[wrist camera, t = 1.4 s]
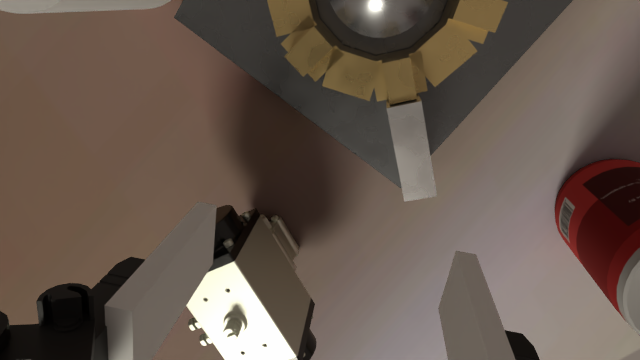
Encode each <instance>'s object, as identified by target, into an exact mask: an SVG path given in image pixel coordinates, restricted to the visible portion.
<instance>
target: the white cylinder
mask: <svg viewBox="0 0 640 360" xmlns="http://www.w3.org/2000/svg"><path fill="white" fill-rule="evenodd" d="M169 1H171V0H0V10H2V11H6V12H11V13H19V14H28V13H54V12H80V11H106V10H132V9H151V8H156V7H159V6H162V5H164V4H166V3H168V2H169Z"/></svg>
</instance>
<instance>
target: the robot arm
mask: <svg viewBox="0 0 640 360" xmlns="http://www.w3.org/2000/svg"><path fill="white" fill-rule="evenodd" d="M216 207H217V205H213V204H207V203H202V202H197V203H196V204H195V206H194V207H193V208H192V209H191V210H190V211H189V212H188V213H187V214H186V216H185V217H184V218H183V219H182V220H181V221H180V222H179V223H178V224H177V226H176V227H175V228H174V229H173V230H172V231H171V232H170V233H169V234H168V236H167V237H166V238H165V239H164V240H163V241H162V242H161V243H160V244H159V246H158V247H157V248H156V249H155V250H154V251H153V252H152V253H151V254H150V256H149V257H148V258H147V259H146V260H144V259H139V258H134V257H130V258H128V259H126V260H124V261H122V262H120V263H118V264H116V265H115V266H114V267H113V268H112V269H111V270H110V271H109V272H108V274H107V275H105V276H104V277H103V278H102V279H101V280H100V283H97V284H96V285H95V286H94V287H93V288H92V289H90V288H89V287H88V286H86V285H82V284H76V283H68V284H62V285H57V286H55V287H53V288H50V289H48V290H46V291H45V292H44V293H42V294H41V295H40V296H39V298H38V300H37V301H36V302H37V310H38V319H39V324H31V325H9V320H8V317H7V315H6V314H4V313H2V312H1V311H0V360H152V359H153V357H154V356H155V354H156V352H157V351H158V349H159V348H160V346H161V345H162V343H163V341H164V340H165V338H166V337H167V335H168V334H169V332H170V330H171V329H172V327H173V326H174V324H175V323H176V321H177V319H178V318H179V316H180V315H181V313H182V311H183V310H184V308H185V307H186V305H187V304H188V302H189V300H190V299H191V297H192V296H193V294H194V293H195V291H196V289H197V288H198V286H199V285H200V283H201V281H202V280H203V278H204V277H205V275H206V274H207V272H208V270H209V269H210V267H211V266H212V264H213V253H214V238H215V222H216ZM438 309H439V314H440V319H441V324H442V330H443V335H444V340H445V345H446V351H447V356H448V360H540V359H539V357H538V355H537V352H536V350H535V348H534V346H533V345H532V344H531V343H530V342H529V341H528V340H527V338H526V337H525V336H524V335H523V334H521V333H516V332H511V331H506V330H504V328H503V325H502V322H501V320H500V317H499V314H498V312H497V309H496V306H495V304H494V301H493V298H492V296H491V293H490V290H489V288H488V285H487V283H486V280H485V277H484V275H483V272H482V269H481V267H480V264H479V261H478V259H477V256H476V255H475V254H470V253H465V252H460V251H456V253H455V256H454V259H453V262H452V266H451V269H450V272H449V276H448V279H447V282H446V285H445V289H444V292H443V295H442V298H441V302H440V305H439V308H438Z"/></svg>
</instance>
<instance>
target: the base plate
mask: <svg viewBox="0 0 640 360" xmlns="http://www.w3.org/2000/svg"><path fill="white" fill-rule="evenodd" d="M315 1H316V6H317V10H318V14H319V19H320V20H321V21H322V22H323V23H324V24H325V25H326V26H327V28H328V29H329V30H330V31H331V32H332V33H333V34H334V35H335V37H336V38H337V39H338V40H339V41H340V42H341V43H342V44H343V45H344V46H347V47H350V48H354V49H357V50H360V51H363V52H366V53H369V54H372V55H375V56H378V55H382V54H386V53H391V52H395V51H399V50H404V49H408V48H411V47H413V46H414V45H415V44H416V43H417V42H418V41H419V40H420V39H421V38H423V37H424V36H425V35H426V34H427V33H428V32H429V31H430V30H431V29H433V28H434V27H435V26H436V25H437V24H438V23H439V22H440V20H441V17H442V15H443V12H444V9H445V7H446V4H447V1H448V0H315ZM503 1H506V2H508V4H507V6H506V8H505V11H504V13H503V16H502V18H501V20H500V23H499V25H498V27H497V30H496V32H495V33H494V32H490V31H488V33H487V36H486V38H485V41H484V43H483V44H481V43H478V42H475V41H472V40H469V39H468V40H469V41H470V42H471V44H472V45H473V46H474V47H475V48H476V50H477V52H476V53H475V54H474V55H473V56H471V57H470V58H469V59H468V60H467V61H465V62H464V63H463V64H462V65H461V66H460V67H458V68H457V69H456V70H455V71H454V72H452V73H451V74H450V75H449V76H448V77H447V78H445V79H444V80H443V81H442V82H441V83H439V84H438V85H437V86H436V87H434V86H433V84H432V83H431V82H430V81H429V80H428V79H427V78H426V76H425V78H426V84H427V91H425V92H420V93H418V94H419V96H420V99H421V101H422V108H423V114H424V120H425V126H426V132H427V138H428V144H429V150H430V156H431V155H432V154H433V152H434V151H435V150H436V149H437V148H438V147H439V146H440V145H441V144H442V143H443V142H444V140H445V139H446V138H447V137H448V136H449V135H450V134H451V133H452V132H453V131H454V130H455V128H456V127H457V126H458V125H459V124H460V123H461V122H462V121H463V120H464V119H465V117H466V116H467V115H468V114H469V113H470V112H471V111H472V110H473V109H474V108H475V107H476V105H477V104H478V103H479V102H480V101H481V100H482V99H483V98H484V97H485V96H486V95H487V93H488V92H489V91H490V90H491V89H492V88H493V87H494V86H495V85H496V84H497V82H498V81H499V80H500V79H501V78H502V77H503V76H504V75H505V74H506V73H507V72H508V70H509V69H510V68H511V67H512V66H513V65H514V64H515V63H516V62H517V61H518V60H519V58H520V57H521V56H522V55H523V54H524V53H525V52H526V51H527V50H528V49H529V48H530V46H531V45H532V44H533V43H534V42H535V41H536V40H537V39H538V38H539V37H540V35H541V34H542V33H543V32H544V31H545V30H546V29H547V28H548V27H549V26H550V25H551V23H552V22H553V21H554V20H555V19H556V18H557V17H558V16H559V15H560V14H561V13H562V11H563V10H564V9H565V8H566V7H567V6H568V5H569V4H570V3H571V2H572V0H503ZM174 18H175V19H177V20H178V21H179V22H181V23H182V24H183V25H185V26H186V27H187V28H189V29H190V30H191V31H193V32H194V33H195V34H197V35H198V36H199V37H201V38H202V39H203V40H205V41H206V42H207V43H209V44H210V45H211V46H213V47H214V48H215V49H216V50H218V51H219V52H220V53H222V54H223V55H224V56H226V57H227V58H228V59H230V60H231V61H232V62H234V63H235V64H236V65H238V66H239V67H240V68H242V69H243V70H244V71H246V72H247V73H248V74H250V75H251V76H252V77H254V78H255V79H256V80H258V81H259V82H260V83H262V84H263V85H264V86H266V87H267V88H268V89H270V90H271V91H272V92H274V93H275V94H276V95H278V96H279V97H280V98H282V99H283V100H284V101H286V102H287V103H288V104H289V105H291V106H292V107H293V108H295V109H296V110H297V111H299V112H300V113H301V114H303V115H304V116H305V117H307V118H308V119H309V120H311V121H312V122H313V123H315V124H316V125H317V126H319V127H320V128H321V129H323V130H324V131H325V132H327V133H328V134H329V135H331V136H332V137H333V138H335V139H336V140H337V141H339V142H340V143H341V144H343V145H344V146H345V147H347V148H348V149H349V150H351V151H352V152H353V153H355V154H356V155H357V156H359V157H360V158H361V159H363V160H364V161H365V162H366V163H368V164H369V165H370V166H372V167H373V168H374V169H376V170H377V171H378V172H380V173H381V174H382V175H384V176H385V177H386V178H388V179H389V180H390V181H392V182H393V183H394V184H396V185H397V186H398V187H400V188H401V187H402V186H401V181H400V176H399V171H398V165H397V160H396V155H395V150H394V145H393V139H392V134H391V129H390V124H389V118H388V113H387V107H386V100H382V101H378V102H377V99H376V94H375V89H373V92H372V95H371V98H370V101H367V100H364V99H361V98H358V97H355V96H352V95H348V94H345V93H342V92H339V91H336V90H333V89H330V88H326V87H323V86H322V84H323V81H324V77H325V74H326V72H325V73H324V74H323V75H322V76H321V77H320V78H319V79H318V80H317V81H316V82H315V81H314V80H313V79H312V78H311V76H310V75H309V74H308V73H307V74H306V75H305V76H304V77H303V76H302V75H301V74H300V73H299V72H298V71H297V70H296V69H295V68H294V67H293V65H292V64H291V63H290V62H289V61H288V60H287V59H286V58H285V57H284V56H285V55H286V54H287V53H288V52H287V50H286V49H285V48H284V47H283V46H282V45H281V43H282V42H283V41H284V40H285V39H286V38H287V37H288V36H289V35H290V34H291V33H290V34H286V35H282V36H278V37H277V36H276V33H275V29H274V25H273V21H272V17H271V13H270V10H269V6H268V2H267V0H183V2H182V4H181V6H180V7H179V9H178V11H177V13H176V15H175V17H174Z"/></svg>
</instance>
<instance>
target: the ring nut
mask: <svg viewBox="0 0 640 360" xmlns="http://www.w3.org/2000/svg"><path fill="white" fill-rule="evenodd" d="M267 2H268V6H269V10H270V13H271V17H272V21H273V25H274V29H275V33H276V36H277V37H278V36H282V35H286V34H290V33H291V34H290V35H289V36H288V37H287V38H286V39H285V40H284V41H283V42H282V43H281V45H282V46H283V47H284V48H285V49H286V50H287V52H288V53H287V54H286V55H285V56H284V57H285V58H286V59H287V60H288V61H289V62H290V63H291V64H292V65H293V67H294V68H295V69H296V70H297V71H298V72H299V73H300V74H301V75H302V76H303V77H304V76H305V75H306V74H307V73H308V74H309V75H310V76H311V78H312V79H313V80H314V81H315V82H316V81H317V80H318V79H319V78H320V77H321V76H322V75H323V74H324V73H325V72H326V74H325V77H324V81H323V84H322V86H323V87H326V88H330V89H333V90H336V91H339V92H342V93H345V94H348V95H352V96H355V97H358V98H361V99H364V100H367V101H370V98H371V95H372V92H373V89H375V94H376V99H377V102H378V101H382V100H386V107H387V113H388V118H389V124H390V129H391V134H392V139H393V145H394V150H395V155H396V160H397V165H398V171H399V176H400V181H401V186H402V191H403V197H404V202H405V201H411V200H417V199H423V198H429V197H435V196H437V193H436V187H435V181H434V175H433V168H432V162H431V156H430V150H429V144H428V138H427V132H426V126H425V120H424V114H423V108H422V101H421V99H420V96H419V94H418V93H420V92H425V91H427V84H426V78H427V79H428V80H429V81H430V82H431V83H432V84H433V86H434V87H436V86H437V85H438V84H439V83H441V82H442V81H443V80H444V79H445V78H447V77H448V76H449V75H450V74H451V73H452V72H454V71H455V70H456V69H457V68H458V67H460V66H461V65H462V64H463V63H464V62H465V61H467V60H468V59H469V58H470V57H471V56H473V55H474V54H475V53H476V52H477V50H476V48H475V47H474V46H473V45H472V44H471V42H470V41H469V40H472V41H475V42H478V43H481V44H483V43H484V41H485V38H486V36H487V33H488V31H490V32H494V33H495V32H496V30H497V27H498V25H499V23H500V20H501V18H502V16H503V13H504V11H505V8H506V6H507V4H508V2H506V1H503V0H448V1H447V4H446V7H445V9H444V12H443V15H442V17H441V20H440V22H439V23H438V24H437V25H436V26H435V27H434V28H433V29H431V30H430V31H429V32H428V33H427V34H426V35H425V36H424V37H423V38H421V39H420V40H419V41H418V42H417V43H416V44H415V45H414V46H413V47H411V48H408V49H404V50H399V51H395V52H391V53H386V54H382V55H378V56H375V55H372V54H369V53H366V52H363V51H360V50H357V49H354V48H350V47H347V46H344V45H343V44H342V43H341V42H340V41H339V40H338V39H337V38H336V37H335V35H334V34H333V33H332V32H331V31H330V30H329V29H328V28H327V26H326V25H325V24H324V23H323V22H322V21H321V20H320V19H319V14H318V10H317V6H316V1H315V0H267ZM468 39H469V40H468ZM425 76H426V78H425Z"/></svg>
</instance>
